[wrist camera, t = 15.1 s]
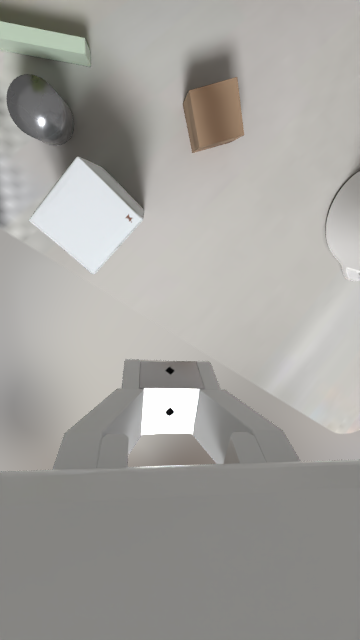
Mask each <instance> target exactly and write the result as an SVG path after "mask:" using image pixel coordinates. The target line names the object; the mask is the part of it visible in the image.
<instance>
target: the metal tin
mask: <svg viewBox="0 0 360 640" xmlns="http://www.w3.org/2000/svg"><path fill="white" fill-rule="evenodd" d="M7 106H8V110H9V113H10V115H11V117H12V119H13V121H14V122H15V124H16V125H17V126H18V127H19V128H20V129H21V130H22V131H23V132H24V133H26V134H27V135H30V136H32V137H34V138H36V139H38V140H40V141H42V142H44V143H46V144H49V145H54V146H57V145H62V144H64V143H65V142H67V141H68V140H69V139H70V137H71V135H72V133H73V129H74V120H73V115H72V112H71V110H70V108H69V106H68V105H67V104H66V102H65V101H64V100H63V99H62V98H61V97H60V96H59V94H58V93H57V92H56V91H55V90H54V89H53V88H52V87H51V86H50V84H48V83H47V82H46V81H45V80H43V79H42V78H40V77H38V76H35V75H29V74H27V75H21V76H19V77H17V78H16V79H14V80H13V81H12V83H11V84H10V86H9V88H8V92H7Z"/></svg>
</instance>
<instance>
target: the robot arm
mask: <svg viewBox="0 0 360 640" xmlns="http://www.w3.org/2000/svg"><path fill="white" fill-rule="evenodd" d="M326 239H327V243H328V246H329V249H330V251H331V252H332V254H333V255H334V257H335V258H336V259H337V260H338V261H339V262H340V264H341V267H342V272H343V275H344V277H345V279H347V280H350V281H359V280H360V274H359V273H360V171H359V172H357V173H356V174H355V175H353V176H352V177H351V178H350V179H349V180H348V181H347V182H346V183H345V184H344V186H343V187H342V188H341V190H340V191H339V192H338V194H337V196H336V197H335V199H334V201H333V203H332V205H331V208H330V210H329V214H328V217H327V223H326ZM158 433H191V434H192V435H193V436H194V437H195V438H196V440H197V441H198V442H199V443H200V444H201V446H202V447H203V448H204V449H205V450H206V452H207V453H208V454H209V455H210V456H211V457H212V459H213V460H214V461H215V462H216V464H208V465H179V466H151V467H150V466H149V467H127V464H128V455H129V453H130V452H131V450H132V449H133V447H134V446H135V445H136V443H137V441H138V440H139V439H140V437H141V435H142V434H158ZM0 640H360V459H358V460H332V461H303V462H302V461H300V459H299V457H298V456H297V454H296V452H295V451H294V449H293V447H292V445H291V444H290V442H289V440H288V438H287V437H286V435H285V433H284V432H283V430H281V429H280V428H279V427H277V426H276V425H274V424H273V423H272V422H270V421H269V420H267V419H266V418H264V417H263V416H262V415H260V414H259V413H257V412H256V411H255V410H253V409H252V408H250V407H249V406H247V405H246V404H244V403H243V402H242V401H240V400H239V399H238V398H236V397H235V396H233V395H232V394H230V393H229V392H228V391H226V390H221V388H220V386H219V383H218V381H217V378H216V375H215V373H214V370H213V368H212V365H211V363H210V362H209V361H160V360H139V359H136V360H135V359H125V363H124V371H123V380H122V389H116V390H115V391H114V392H113V393H112V394H110V395H109V396H108V397H107V398H105V399H104V400H103V401H102V402H101V403H100V404H98V405H97V406H96V407H95V408H94V409H93V410H91V411H90V412H89V413H88V414H87V415H85V416H84V417H83V418H82V419H81V420H80V421H79V422H77V423H76V424H75V425H74V426H73V427H71V428H70V429H69V430H68V431H67V432H66V433H65V434H64V437H63V440H62V443H61V445H60V448H59V452H58V455H57V458H56V461H55V464H54V466H53V469H52V470H31V471H3V472H2V471H1V472H0Z"/></svg>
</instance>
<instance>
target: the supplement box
mask: <svg viewBox="0 0 360 640" xmlns="http://www.w3.org/2000/svg"><path fill="white" fill-rule="evenodd" d="M143 217H144V209H143V208H142V207H141V206H140V205H139V204H138V203H137V202H136V201H135V200H134V199H133V198H132V197H131V196H130V195H129V194H128V193H127V191H126V190H125V189H124V188H123V187H122V186H121V185H120V184H119V183H118V182H117V181H116V180H115V179H114V178H113V177H112V176H111V175H110V174H109V173H108V172H107V171H106V170H105V169H104V168H102V167H101V166H99V165H96V164H94V163H92V162H90V161H88V160H85V159H83V158H81V157H78V156H77V157H76V159H75V160H74V161H73V162H72V163H71V165H70V166H69V167H68V168H67V170H66V171H65V172H64V174H63V175H62V176H61V178H60V179H59V180H58V181H57V183H56V184H55V185H54V187H53V188H52V189H51V191H50V192H49V193H48V195H47V196H46V197H45V199H44V200H43V201H42V203H41V204H40V205H39V207H38V208H37V209H36V211H35V212H34V213H33V215H32V216H31V218H30V219H29V221H30V222H31V223H32V224H34V225H35V226H36V227H37V228H39V229H40V230H41V231H42V232H43V233H45V234H46V235H47V236H48V237H50V238H51V239H52V240H53V241H54V242H56V243H57V244H58V245H59V246H60V247H61V248H63V249H64V250H65V251H66V252H67V253H68V254H70V255H71V256H72V257H73V258H74V259H75V260H77V261H78V262H79V263H80V264H81V265H82V266H84V267H85V268H86V269H87V270H88V271H89V272H91V273H92V274H95V273H96V272H97V271H98V270H99V269H100V268H101V267H102V266H103V264H104V263H105V262H106V261H107V260H108V259H109V258H110V257H111V255H112V254H113V253H114V252H115V251H116V250H117V249H118V248H119V247H120V246H121V244H122V243H123V242H124V241H125V240H126V239H127V237H128V236H129V235H130V234H131V233H132V232H133V231H134V230H135V228H136V227H137V226H138V225H139V224H140V223H141V222H142V221H143Z"/></svg>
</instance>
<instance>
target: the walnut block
mask: <svg viewBox="0 0 360 640" xmlns="http://www.w3.org/2000/svg"><path fill="white" fill-rule="evenodd" d="M183 108H184V113H185V118H186V123H187V128H188V133H189V138H190V143H191V149H192V153H194V152H198V151H201V150H205V149H208V148H212V147H216V146H219V145H223V144H226V143H230V142H232V141H234V140H236V139H238V138H240V137H241V136H243V135H244V130H243V122H242V113H241V105H240V97H239V88H238V80H237V77H235V78H232V79H228V80H225V81H221V82H217V83H214V84H210V85H207V86H203V87H200V88H196V89H193V90H189V92H188V94H187V96H186V98H185V101H184V103H183Z"/></svg>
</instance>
